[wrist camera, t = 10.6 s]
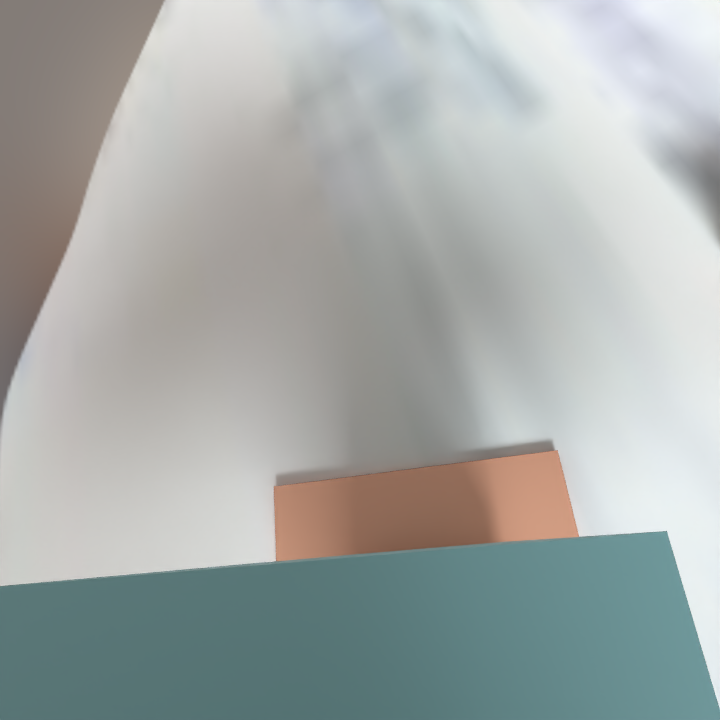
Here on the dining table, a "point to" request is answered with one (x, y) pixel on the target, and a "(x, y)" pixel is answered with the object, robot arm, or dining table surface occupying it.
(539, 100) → the dining table surface
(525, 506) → the tile
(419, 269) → the dining table surface
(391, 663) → the block
